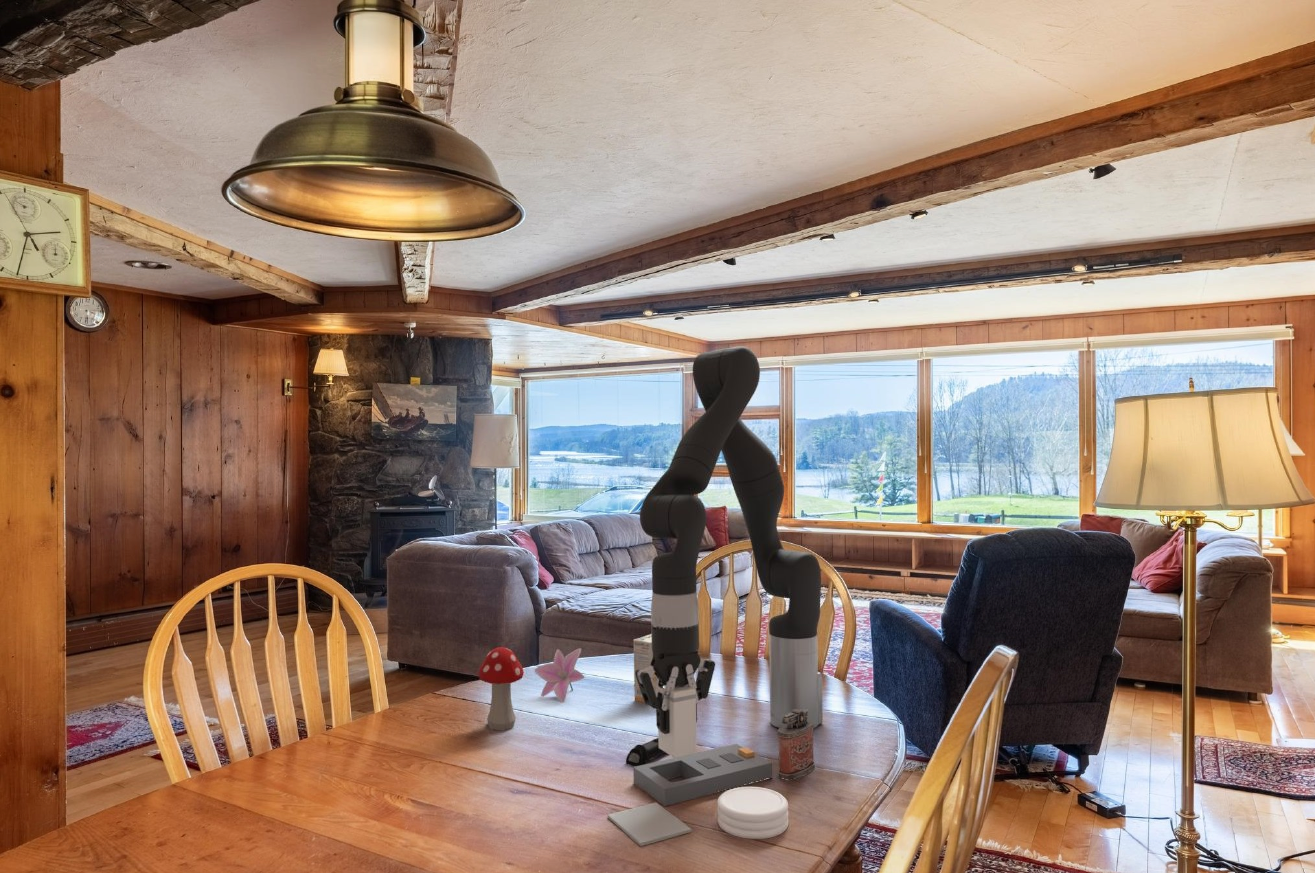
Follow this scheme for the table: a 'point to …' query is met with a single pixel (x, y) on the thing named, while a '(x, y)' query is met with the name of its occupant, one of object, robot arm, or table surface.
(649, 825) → the rubber mat
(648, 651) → the supplement box
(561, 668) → the lily
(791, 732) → the lighter
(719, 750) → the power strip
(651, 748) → the electric trimmer
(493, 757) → the table surface
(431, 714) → the table surface
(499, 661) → the decorative mushroom
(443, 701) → the table surface
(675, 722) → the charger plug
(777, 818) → the white short cylinder
